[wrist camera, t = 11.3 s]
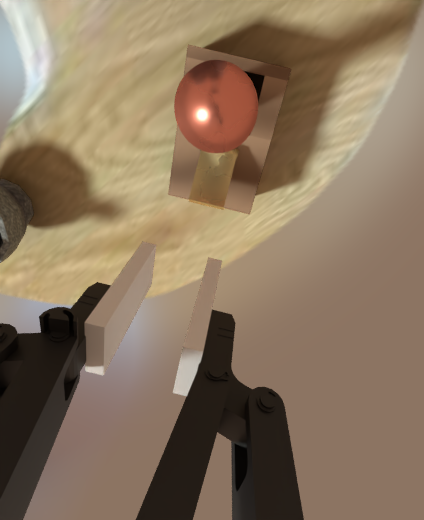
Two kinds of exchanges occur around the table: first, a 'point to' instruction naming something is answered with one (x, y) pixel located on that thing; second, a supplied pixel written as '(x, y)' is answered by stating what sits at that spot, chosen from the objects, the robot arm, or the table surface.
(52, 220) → the table surface
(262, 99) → the block
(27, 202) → the mortar and pestle
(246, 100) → the red-capped peg
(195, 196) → the golden rectangular bar
